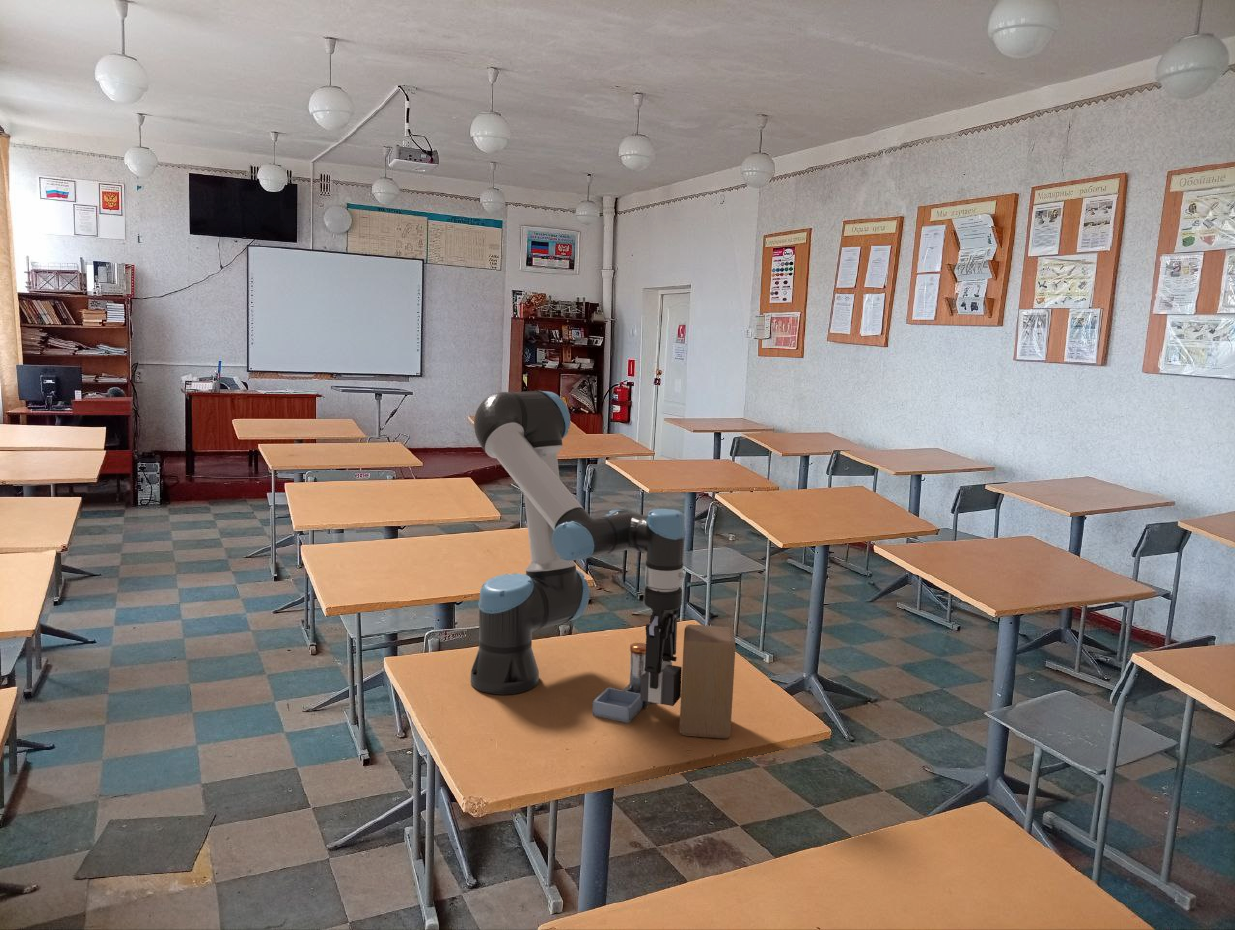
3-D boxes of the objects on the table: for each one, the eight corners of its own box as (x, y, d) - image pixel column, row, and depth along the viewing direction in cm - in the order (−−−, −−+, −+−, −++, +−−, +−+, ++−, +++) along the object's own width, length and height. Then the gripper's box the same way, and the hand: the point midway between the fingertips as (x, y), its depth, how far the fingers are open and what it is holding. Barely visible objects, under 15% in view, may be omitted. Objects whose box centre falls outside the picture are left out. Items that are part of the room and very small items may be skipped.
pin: (625, 701, 186) (627, 647, 184) (632, 694, 190) (634, 641, 188) (642, 704, 184) (645, 650, 183) (649, 697, 188) (651, 644, 186)
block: (728, 718, 179) (734, 625, 176) (730, 741, 169) (736, 643, 166) (680, 714, 180) (685, 622, 177) (679, 736, 170) (683, 639, 167)
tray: (592, 715, 178) (592, 701, 178) (607, 700, 186) (607, 687, 185) (628, 722, 176) (629, 708, 175) (642, 707, 183) (643, 694, 182)
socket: (617, 702, 185) (617, 695, 185) (628, 690, 191) (628, 684, 191) (646, 708, 183) (646, 701, 183) (656, 696, 189) (657, 689, 189)
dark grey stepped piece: (640, 700, 177) (641, 669, 176) (648, 691, 181) (649, 661, 180) (673, 706, 174) (673, 675, 173) (680, 697, 179) (681, 666, 178)
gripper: (666, 601, 164) (662, 717, 168) (694, 578, 181) (690, 684, 184) (629, 595, 167) (626, 710, 171) (661, 573, 184) (657, 677, 187)
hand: (659, 696), depth 178 cm, fingers closed on dark grey stepped piece, 5 cm apart
